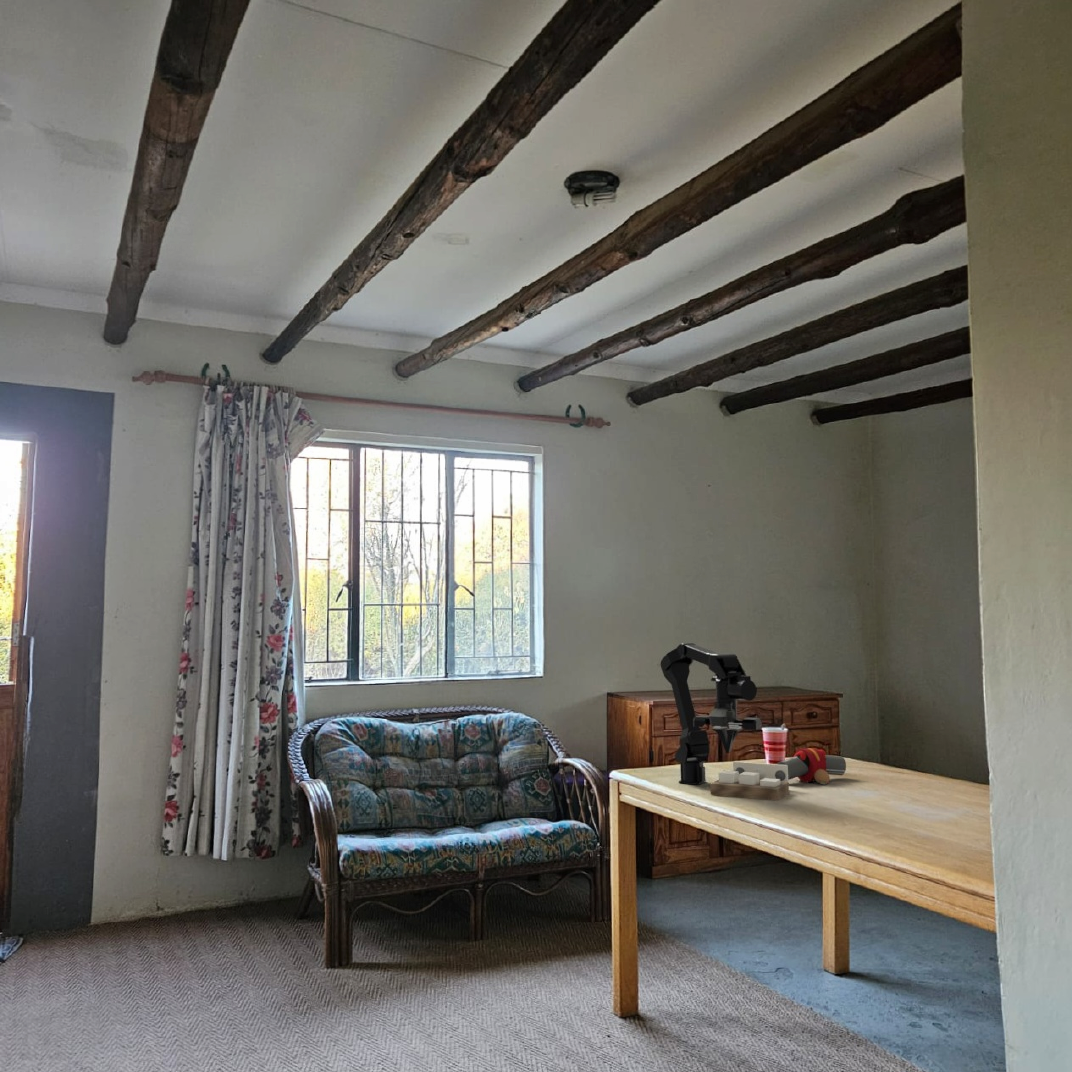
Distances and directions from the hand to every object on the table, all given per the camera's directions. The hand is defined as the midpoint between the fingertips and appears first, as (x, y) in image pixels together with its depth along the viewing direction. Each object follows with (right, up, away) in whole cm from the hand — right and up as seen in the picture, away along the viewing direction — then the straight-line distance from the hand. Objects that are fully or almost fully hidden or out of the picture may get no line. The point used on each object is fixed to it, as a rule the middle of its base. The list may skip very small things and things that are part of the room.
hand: (727, 753), depth 262 cm
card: (+10, -11, +4) cm, 16 cm away
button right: (+10, -10, -7) cm, 16 cm away
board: (+5, -11, -4) cm, 12 cm away
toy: (+28, -12, +14) cm, 33 cm away
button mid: (+5, -9, -4) cm, 11 cm away
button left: (0, -9, -1) cm, 9 cm away
